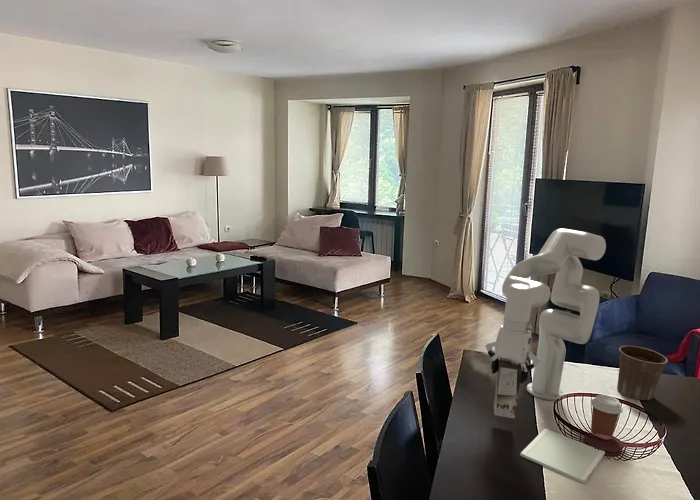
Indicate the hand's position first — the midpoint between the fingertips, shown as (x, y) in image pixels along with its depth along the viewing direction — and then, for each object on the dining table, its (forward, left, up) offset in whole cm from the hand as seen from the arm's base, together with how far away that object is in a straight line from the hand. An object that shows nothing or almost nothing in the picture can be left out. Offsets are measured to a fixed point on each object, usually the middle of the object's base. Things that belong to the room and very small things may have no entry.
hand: (508, 376), depth 170 cm
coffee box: (0, 0, -12) cm, 12 cm away
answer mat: (+2, +20, -17) cm, 26 cm away
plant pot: (-63, +26, -17) cm, 71 cm away
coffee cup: (-20, +25, -17) cm, 37 cm away
